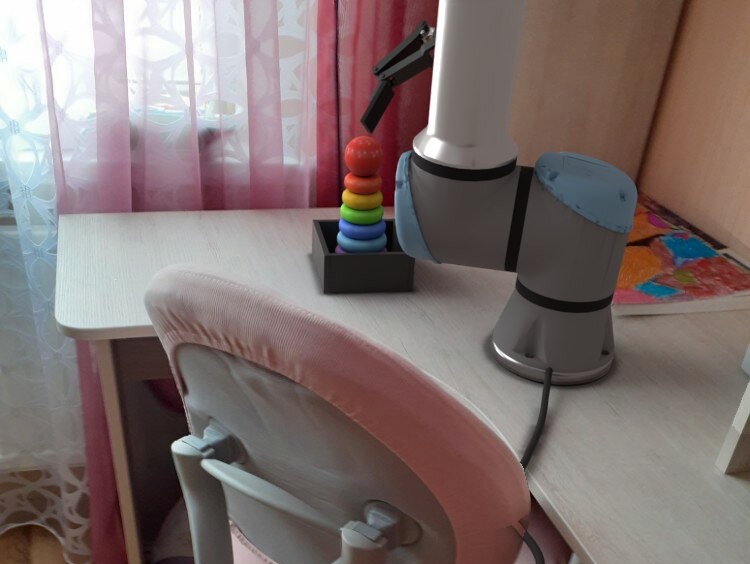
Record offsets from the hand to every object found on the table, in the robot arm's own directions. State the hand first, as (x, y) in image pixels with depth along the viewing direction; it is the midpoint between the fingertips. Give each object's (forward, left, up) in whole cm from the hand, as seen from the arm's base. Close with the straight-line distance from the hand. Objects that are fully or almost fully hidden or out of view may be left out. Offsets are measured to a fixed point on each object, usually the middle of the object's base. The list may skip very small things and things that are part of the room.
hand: (403, 139), depth 116 cm
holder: (-5, +6, -17) cm, 19 cm away
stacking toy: (-5, +6, -17) cm, 19 cm away
